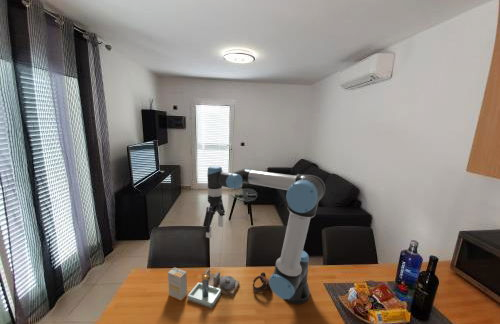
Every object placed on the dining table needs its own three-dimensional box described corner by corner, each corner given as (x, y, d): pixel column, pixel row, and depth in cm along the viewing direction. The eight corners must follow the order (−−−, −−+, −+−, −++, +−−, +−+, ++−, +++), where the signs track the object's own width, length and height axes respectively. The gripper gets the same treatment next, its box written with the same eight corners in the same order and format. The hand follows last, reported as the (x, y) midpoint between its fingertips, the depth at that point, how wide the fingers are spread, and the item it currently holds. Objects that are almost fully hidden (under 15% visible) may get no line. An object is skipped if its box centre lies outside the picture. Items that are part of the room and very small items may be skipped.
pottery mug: (273, 297, 108) (267, 287, 105) (257, 302, 110) (250, 292, 107) (272, 276, 119) (266, 266, 116) (257, 280, 121) (250, 271, 118)
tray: (221, 293, 109) (221, 289, 108) (212, 308, 100) (212, 303, 100) (198, 286, 113) (198, 282, 113) (187, 299, 104) (187, 295, 104)
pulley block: (239, 284, 116) (239, 274, 115) (232, 296, 107) (232, 286, 106) (209, 275, 121) (209, 266, 120) (201, 286, 113) (201, 276, 112)
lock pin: (209, 292, 108) (210, 273, 107) (208, 298, 105) (208, 278, 103) (202, 292, 108) (202, 273, 107) (200, 298, 105) (200, 278, 103)
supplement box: (187, 294, 108) (187, 271, 105) (181, 301, 103) (180, 277, 101) (175, 289, 111) (174, 266, 109) (168, 295, 107) (167, 272, 104)
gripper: (219, 187, 127) (219, 221, 131) (195, 201, 104) (196, 241, 108) (230, 189, 125) (230, 223, 128) (209, 203, 102) (209, 244, 105)
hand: (214, 231), depth 118 cm, fingers open, 13 cm apart
